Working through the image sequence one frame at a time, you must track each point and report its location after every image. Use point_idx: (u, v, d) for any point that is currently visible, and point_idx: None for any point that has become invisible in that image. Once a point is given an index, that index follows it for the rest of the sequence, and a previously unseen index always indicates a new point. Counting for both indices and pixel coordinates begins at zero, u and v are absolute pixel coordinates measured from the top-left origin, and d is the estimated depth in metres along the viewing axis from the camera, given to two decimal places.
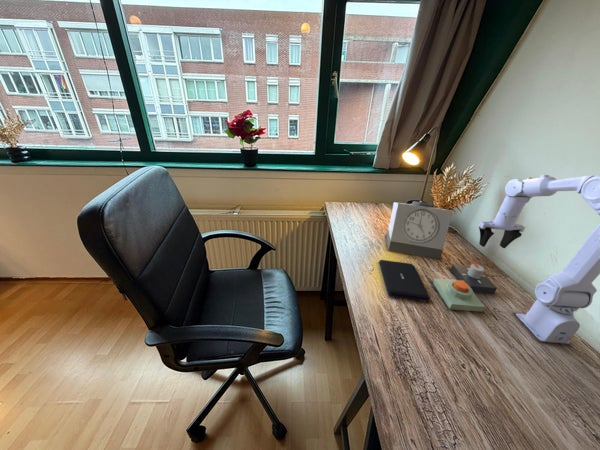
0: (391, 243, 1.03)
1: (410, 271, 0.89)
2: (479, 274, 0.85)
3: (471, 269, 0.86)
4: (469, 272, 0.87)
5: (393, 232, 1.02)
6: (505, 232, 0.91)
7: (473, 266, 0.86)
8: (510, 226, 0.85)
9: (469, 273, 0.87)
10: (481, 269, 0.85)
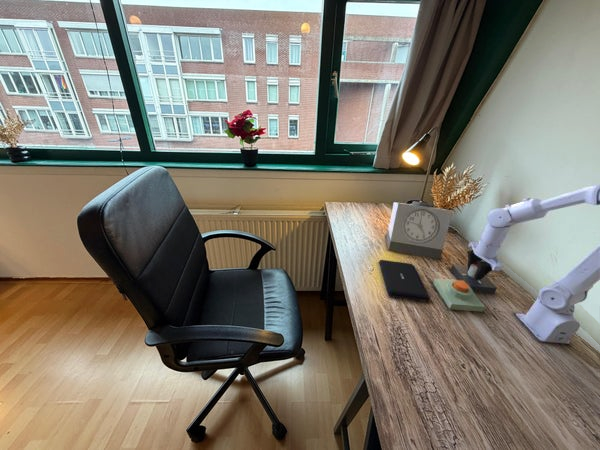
0: (391, 243, 1.03)
1: (410, 271, 0.89)
2: None
3: (471, 269, 0.86)
4: (469, 272, 0.87)
5: (393, 232, 1.02)
6: None
7: (473, 266, 0.86)
8: (478, 251, 0.82)
9: (469, 273, 0.87)
10: None
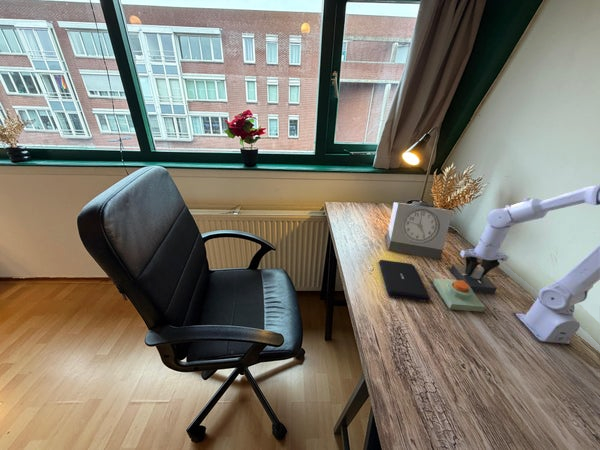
0: (391, 243, 1.03)
1: (410, 271, 0.89)
2: None
3: (480, 273, 0.85)
4: (478, 276, 0.85)
5: (393, 232, 1.02)
6: (483, 260, 0.86)
7: (478, 269, 0.85)
8: (492, 256, 0.80)
9: (478, 277, 0.85)
10: (479, 266, 0.87)
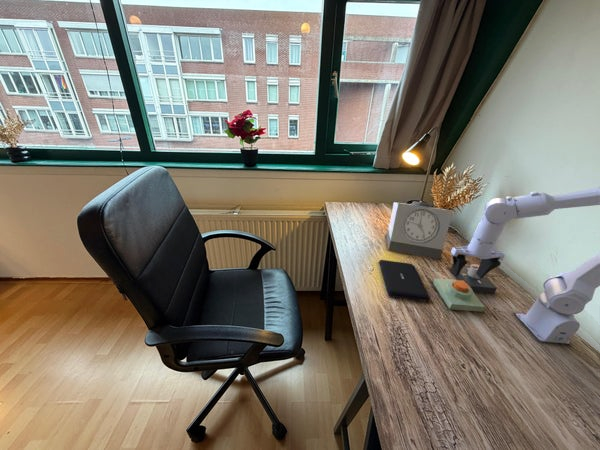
0: (391, 243, 1.03)
1: (410, 271, 0.89)
2: None
3: None
4: (478, 276, 0.85)
5: (393, 232, 1.02)
6: (482, 259, 0.77)
7: None
8: (486, 254, 0.71)
9: (478, 277, 0.85)
10: None
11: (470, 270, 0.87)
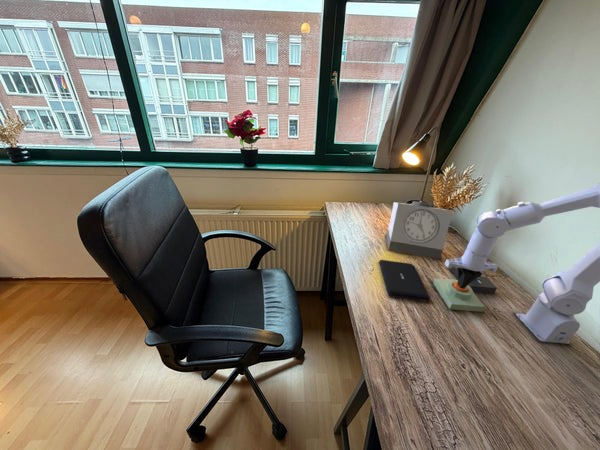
0: (391, 243, 1.03)
1: (410, 271, 0.89)
2: None
3: None
4: None
5: (393, 232, 1.02)
6: None
7: None
8: (479, 266, 0.72)
9: None
10: None
11: None
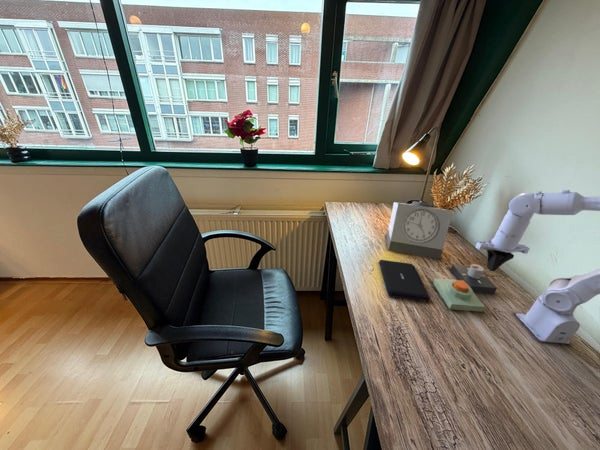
0: (391, 243, 1.03)
1: (410, 271, 0.89)
2: None
3: (480, 273, 0.85)
4: (478, 276, 0.85)
5: (393, 232, 1.02)
6: None
7: (478, 269, 0.85)
8: (512, 248, 0.71)
9: (478, 277, 0.85)
10: (479, 266, 0.87)
11: (470, 270, 0.87)
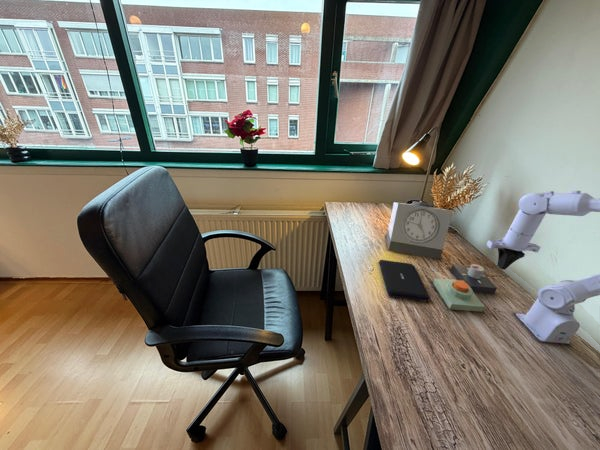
0: (391, 243, 1.03)
1: (410, 271, 0.89)
2: None
3: (480, 273, 0.85)
4: (478, 276, 0.85)
5: (393, 232, 1.02)
6: None
7: (478, 269, 0.85)
8: (523, 246, 0.72)
9: (478, 277, 0.85)
10: (479, 266, 0.87)
11: (470, 270, 0.87)
